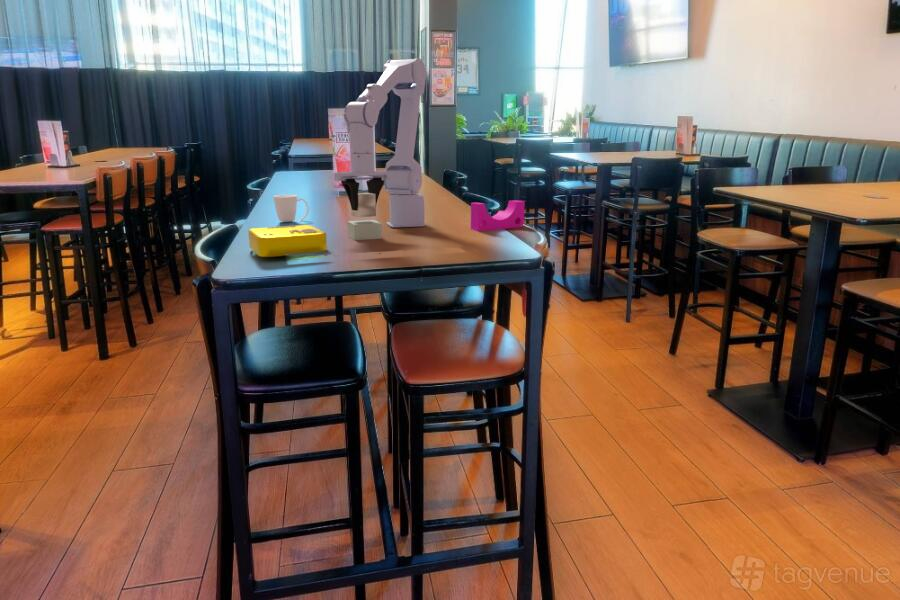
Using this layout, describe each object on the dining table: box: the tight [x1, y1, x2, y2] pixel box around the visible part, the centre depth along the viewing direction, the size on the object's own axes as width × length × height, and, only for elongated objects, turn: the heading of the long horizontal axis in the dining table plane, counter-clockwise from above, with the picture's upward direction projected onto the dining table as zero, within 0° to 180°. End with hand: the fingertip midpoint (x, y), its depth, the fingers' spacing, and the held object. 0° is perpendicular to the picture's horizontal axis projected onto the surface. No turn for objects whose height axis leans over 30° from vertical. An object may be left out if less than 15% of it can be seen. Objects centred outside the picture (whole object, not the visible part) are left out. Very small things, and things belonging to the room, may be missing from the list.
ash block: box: [350, 192, 377, 218], centre depth 152 cm, size 4×4×6 cm
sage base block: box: [347, 219, 383, 241], centre depth 153 cm, size 7×7×4 cm
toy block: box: [470, 199, 526, 232], centre depth 168 cm, size 15×6×8 cm, turn 119°
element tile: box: [248, 224, 328, 258], centre depth 138 cm, size 15×15×5 cm
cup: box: [273, 194, 310, 223], centre depth 175 cm, size 7×10×8 cm
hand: (363, 209), depth 152 cm, fingers closed on ash block, 4 cm apart
